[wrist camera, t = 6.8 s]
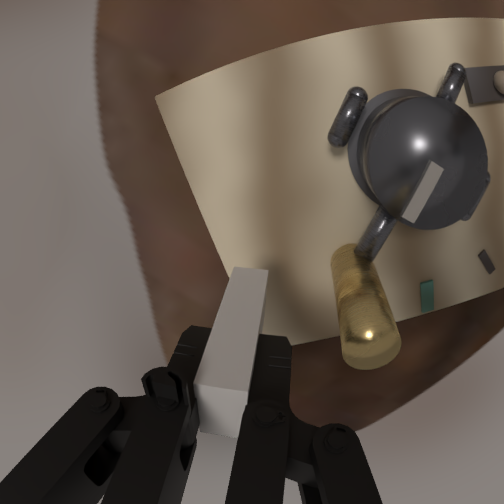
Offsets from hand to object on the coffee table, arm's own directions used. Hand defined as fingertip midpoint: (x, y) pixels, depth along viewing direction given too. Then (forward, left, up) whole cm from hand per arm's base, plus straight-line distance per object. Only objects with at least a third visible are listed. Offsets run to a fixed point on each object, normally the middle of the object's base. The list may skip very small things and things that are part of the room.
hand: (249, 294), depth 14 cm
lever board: (-9, -1, -7) cm, 12 cm away
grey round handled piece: (-9, -2, -4) cm, 10 cm away
